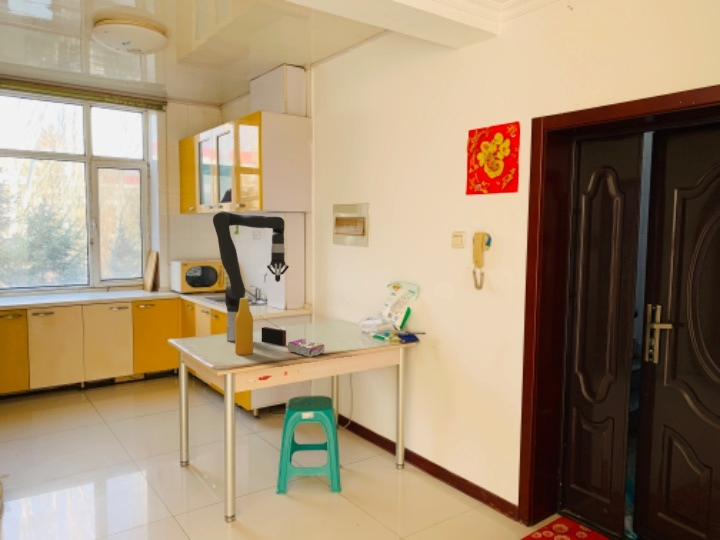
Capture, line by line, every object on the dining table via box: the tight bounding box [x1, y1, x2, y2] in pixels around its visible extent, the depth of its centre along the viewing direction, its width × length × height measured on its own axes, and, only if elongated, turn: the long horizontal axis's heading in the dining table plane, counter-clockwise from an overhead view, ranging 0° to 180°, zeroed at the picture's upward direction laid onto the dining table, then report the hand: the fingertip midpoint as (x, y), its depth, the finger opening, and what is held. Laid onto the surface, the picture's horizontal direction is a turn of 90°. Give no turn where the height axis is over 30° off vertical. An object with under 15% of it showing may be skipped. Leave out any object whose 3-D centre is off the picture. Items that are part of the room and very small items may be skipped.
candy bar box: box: [287, 338, 325, 358], centre depth 279 cm, size 11×5×16 cm
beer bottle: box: [234, 297, 254, 356], centre depth 274 cm, size 9×9×29 cm
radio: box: [259, 315, 287, 347], centre depth 300 cm, size 19×3×15 cm, turn 56°
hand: (277, 281), depth 302 cm, fingers closed
